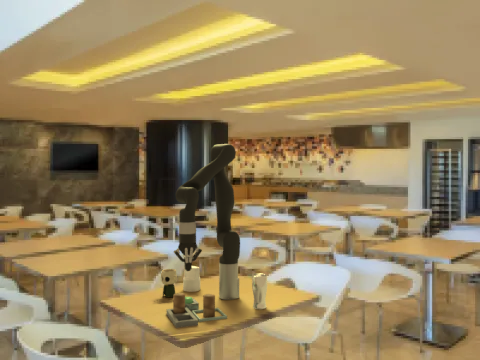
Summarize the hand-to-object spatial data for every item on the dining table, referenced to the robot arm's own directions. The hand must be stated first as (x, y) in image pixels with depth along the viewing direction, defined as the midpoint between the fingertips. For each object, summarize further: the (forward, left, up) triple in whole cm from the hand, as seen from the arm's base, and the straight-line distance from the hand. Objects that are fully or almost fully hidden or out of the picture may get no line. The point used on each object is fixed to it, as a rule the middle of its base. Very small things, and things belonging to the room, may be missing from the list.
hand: (188, 270), depth 204 cm
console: (0, 0, -18) cm, 18 cm away
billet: (-6, +13, -17) cm, 22 cm away
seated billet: (+6, +9, -17) cm, 20 cm away
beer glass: (-32, +7, -18) cm, 37 cm away
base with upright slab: (-11, -34, -18) cm, 40 cm away
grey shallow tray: (+6, +13, -18) cm, 23 cm away
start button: (0, 0, -17) cm, 17 cm away
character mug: (+3, -25, -18) cm, 31 cm away
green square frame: (-6, +13, -18) cm, 23 cm away
